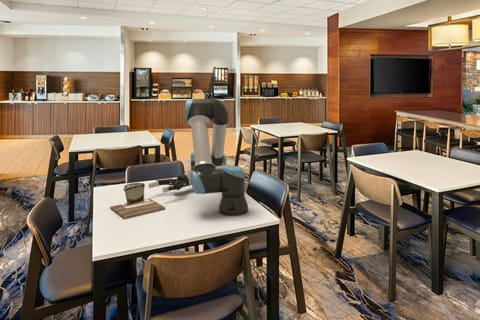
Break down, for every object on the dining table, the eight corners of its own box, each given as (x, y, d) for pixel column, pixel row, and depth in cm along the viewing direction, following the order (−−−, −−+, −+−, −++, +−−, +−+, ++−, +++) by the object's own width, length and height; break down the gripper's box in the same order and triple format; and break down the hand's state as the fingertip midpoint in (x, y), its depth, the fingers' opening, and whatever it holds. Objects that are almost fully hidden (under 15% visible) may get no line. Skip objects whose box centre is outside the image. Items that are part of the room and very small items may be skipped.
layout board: (165, 209, 189) (165, 206, 189) (124, 219, 176) (123, 216, 175) (149, 200, 204) (149, 197, 204) (110, 208, 191) (110, 206, 191)
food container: (140, 198, 204) (138, 181, 202) (146, 200, 200) (145, 183, 198) (120, 203, 195) (118, 185, 193) (126, 206, 191) (124, 187, 189)
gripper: (199, 190, 211) (169, 198, 195) (172, 182, 227) (143, 190, 212) (198, 177, 209) (169, 185, 194) (172, 171, 225) (142, 178, 210)
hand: (155, 188), depth 203 cm, fingers open, 13 cm apart
